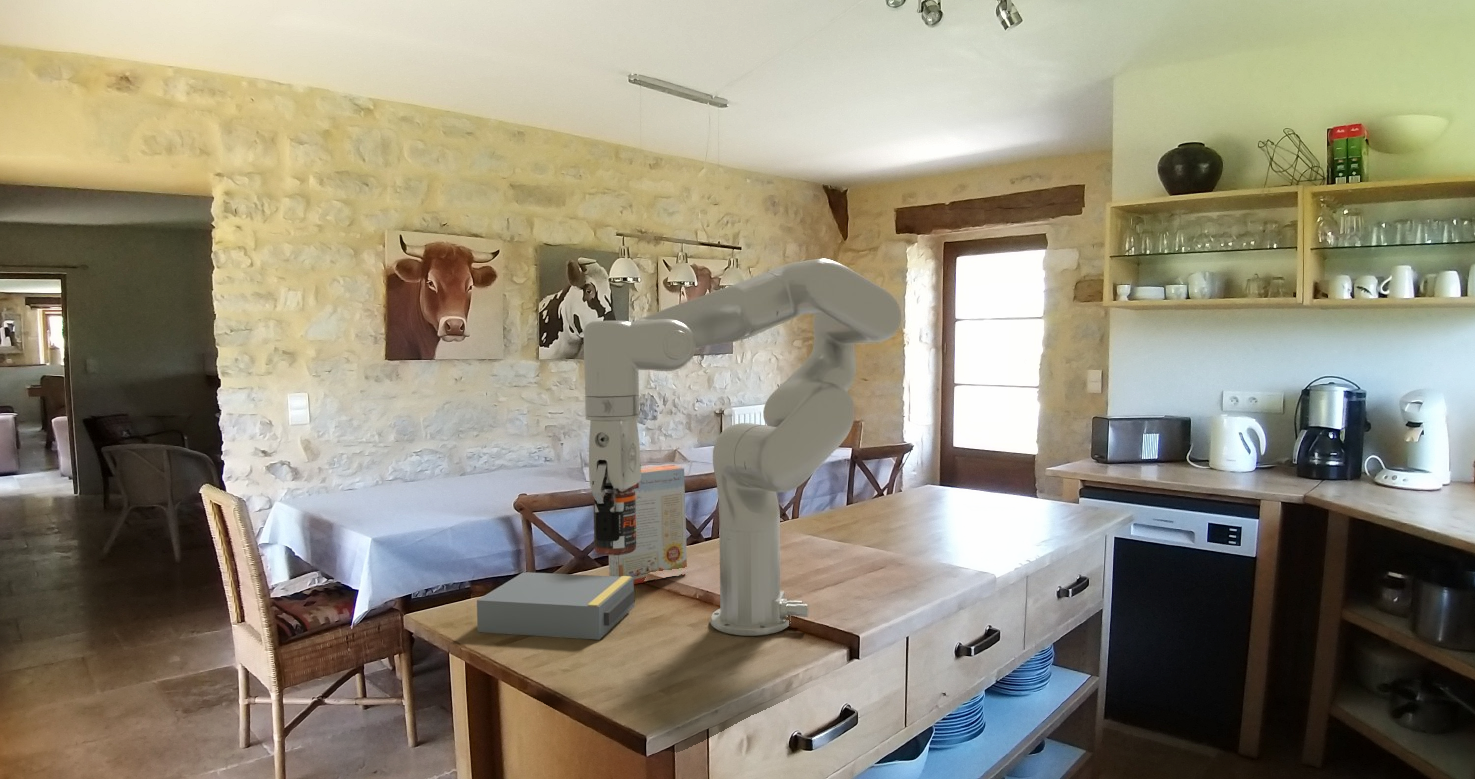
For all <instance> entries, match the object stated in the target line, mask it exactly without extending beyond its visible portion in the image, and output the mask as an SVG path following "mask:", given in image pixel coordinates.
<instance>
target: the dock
mask: <svg viewBox="0 0 1475 779" xmlns="http://www.w3.org/2000/svg"><path fill="white" fill-rule="evenodd" d="M634 585H635V584H634V578H633V577H631V576H622V577H616V576H609V575H592V574H569V573H549V572H548V573H547V572H529V571H527V572H525V571H523V572H522V573H520V574H518V575H516V576H515V577H513V578H511V579H510V580H508V581H506V582H505V583H503V584H502V585H500V586H498V587H496V588H495V589H493V590H491V591H490V592H488V593H486V594H484V595H483V596H481V597H480V598H478V599H477V600H476V614H477V615H476V617H477V618H476V619H477V621H476V622H477V624H476V625H477V633H488V634H502V635H503V634H504V635H521V636H533V637H534V636H535V637H537V636H538V637H549V638H550V637H552V638H569V639H581V640H582V639H583V640H584V639H585V640H598V641H599V640H601V639H602V638H603V637H604V636H605V635H606V634H608V632H609V631H610V630H611V629H613V627H614V626H615V625H617V624H618V623H619V622H620V621H621V620H622V619H623V618H624V617H625V616H626V615H627V614H628V613H629V612H630V611H631V610H632V609H633V608H634V607H635V601H636V600H635V598H636V597H635V587H634Z"/></svg>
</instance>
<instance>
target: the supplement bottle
mask: <svg viewBox="0 0 1475 779" xmlns="http://www.w3.org/2000/svg"><path fill="white" fill-rule="evenodd" d="M605 489H613V486H605ZM608 496H609V498H610V501H611V495H608ZM616 512H619V540H617V541H599V540H597V539H596V512H595V502H594V501H593V533H594V534H593V537H594V538H593V539H594V540H593V542H594V551H595V552H596V553H597V554H599V555H604V556H609V555H623V554H628V553H631V552H633V551H634V550H635V549H636V498H635V490H634V488H632V487H631V488H629V489H627V490H626V491H623V492H621V491H619V489H618V497H617V508H616Z"/></svg>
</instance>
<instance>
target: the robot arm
mask: <svg viewBox="0 0 1475 779" xmlns="http://www.w3.org/2000/svg"><path fill="white" fill-rule="evenodd" d="M806 315H813V319H812V320H813V321H812V322H813V323H812V325H813V349H812V351H811V353H810V355H809V356H808V358H807V359H805V361H804V362H803V363H802V364H801V365H800V366H799V367H798V368H797V369H796V370H795V371H794V372H793V373H792V374H791V375H790V376H789V377H788V378H787V379H785V381H784V382H782V384H780V385H779V386H778V387H777V388H776V389H775V390H774V391H773V392H772V393H771V394H770V395H769V397H768V398H767V400H766V402H765V404H764V407H763V415H762V416H763V420H764V422H765V424H764V425H763V424H759V423H749V422H742V423H735V424H732V425H730V426H728V427H726V428H725V429H724V430H723V431H722V432H720V434H719V435H718V437H717V438H716V441H715V442H714V445H713V450H712V466H713V467H712V468H713V471H714V477H715V482H716V488H717V495H718V496H717V498H718V516H719V517H718V518H719V519H718V520H719V521H718V522H719V526H718V528H719V529H718V530H719V531H718V532H719V541H718V542H719V544H718V545H719V593H720V594H719V598H720V599H719V600H720V601H719V604H720V605H719V606H720V608H718V609H716V610H715V611H714V612H712V613H711V615H710V624H711V626H712V627H713V628H714V629H716V630H717V631H719V632H721V633H725V634H729V635H733V636H746V637H748V636H750V637H752V636H764V635H765V636H767V635H771V634H776V633H779V632H781V631H784V630H785V629H787V628H788V627H789V626H790V625H789V620H786V619H782V618H787V617H788V615H790V617H791V616H793V617H794V616H796V617H797V616H798V617H799V618H808V617H809V604H807V603H803V601H802V600H788V598H785V595H786V594H785V590H781V540H780V538H781V536H780V535H781V532H780V531H781V530H780V528H781V527H780V526H781V522H780V521H781V516H780V515H781V511H780V505H779V500H778V495H777V493H787V492H790V491H793V490H795V489H797V488H798V487H800V486H801V485H802V484H803V483H805V482H806V481H808V480H809V478H810V477H811V476H812V475H813V474H814V473H815V472H816V471H817V470H818V469H819V468H820V467H821V466H822V464H824V463H825V462H826V461H827V459H828V458H830V456H832V455H833V453H834V452H835V451H836V450H837V449H838V448H839V447H840V446H841V445H842V443H844V441H845V440H846V439H847V437H848V435H849V434H850V432H851V429H852V427H853V424H854V420H855V412H856V411H855V404H854V400H853V399H852V398H853V397H852V396H851V395H850V393H849V392H848V391H850V388H851V387H852V386H853V384H854V381H855V378H856V374H857V373H856V372H857V363H856V349H855V344H878V343H879V344H880V343H884V342H885V341H887V340H890V339H891V338H893V337H894V336H895V335H896V333H897V332H898V331H899V329H900V326H901V324H902V311H901V307H900V304H899V302H898V300H897V299H896V298H895V296H894V295H893V294H891V293H890V292H889V291H888V290H887V289H886V288H883V287H882V286H880V285H879V284H877V283H875V282H873V281H871V280H870V279H869V278H867V277H865V276H864V275H861V274H860V273H858V272H856V271H855V270H853V269H851V268H849V267H848V266H846V265H844V264H841V263H839V262H837V261H834V260H831V259H827V258H817V259H816V258H815V259H809V260H803V261H802V260H800V261H796V262H789V263H786V264H784V265H781V266H778V267H775V268H773V269H770V270H768V271H765V272H762V273H761V274H757V275H755V276H753V277H750V278H747V279H745V280H742V281H739V282H737V283H734V284H731V285H729V286H726V287H723V288H720V289H717V290H715V291H711V292H708V293H706V294H703V295H701V296H698V297H696V298H693V299H690V300H687V301H684V302H682V303H679V304H675V305H672V306H670V307H667V308H665V309H662V310H659V311H656V312H654V313H651V314H648V315H646V316H643V317H641V318H639V319H635V320H633V321H632V322H631V321H628V320H595V321H594V320H593V321H590V322H589V323H587V324H586V325H585V327H584V330H583V361H584V364H583V365H584V369H583V370H584V400H585V401H584V404H585V405H584V407H585V408H584V409H585V410H584V411H585V420H586V421H590V422H589V437H588V438H589V439H588V479H589V486H590V489H591V495H592V496H593V503H594V502H595V512H596V539H597V540H599V541H617V540H619V512H616V508H617V497H618V489H619V491H621V492H623V491H626V490H627V489H629V488H631V487H632V488H633V486H634V485H636V484H637V483H638V482H639V481H640V480H641V468H642V465H641V450H640V449H641V448H640V446H641V445H640V436H639V427H638V421H637V419H640V395H639V394H640V391H639V390H640V386H639V385H640V384H639V381H640V380H639V370H640V371H655V372H674V371H676V370H679V369H681V368H683V367H685V366H687V365H688V364H689V363H690V361H691V360H692V359H693V357H694V355H695V353H696V349H699V348H704V347H707V346H714V345H715V346H716V345H723V344H729V343H731V344H732V343H736V342H739V341H744V340H746V339H749V338H750V339H751V338H752V337H755V336H757V335H759V334H761V333H763V332H766V331H767V330H770V329H772V328H775V327H777V326H779V325H781V324H784V323H786V322H789V321H791V320H794V319H796V318H798V317H801V316H806ZM605 486H613V489H605ZM608 495H611V501H610V498H609V496H608Z"/></svg>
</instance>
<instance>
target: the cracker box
mask: <svg viewBox="0 0 1475 779" xmlns="http://www.w3.org/2000/svg"><path fill="white" fill-rule="evenodd" d="M685 483H686V482H685V467H681V466H678V465H675V464H668V465H657V466H655V465H654V466H648V467H646V466H645V467H644V466H643V467H641V480H640V481H639V482H638V483H637V484H636V485H634V486H633V488H634V490H635V498H636V549H635V550H634V551H633V552H631V553H628V554H623V555H608V572H609V573H608V574H609V575H608V576H616V577H622V576H631V577H633V578H634V585H635V584H636V585H637V584H642V583H646V582H645V581H644V580H645V578H646V576H647V574H648V573H650V572H656V571H663V570H672V569H679V568H685V567H687V568H688V562H687V561H688V559H687V557H688V556H687V524H686V523H687V522H686V521H687V520H686V518H687V517H686V488H685V487H686V486H685Z"/></svg>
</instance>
